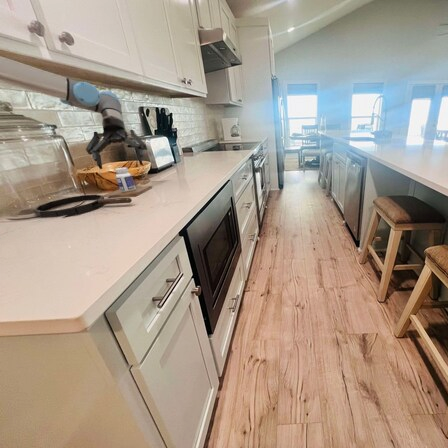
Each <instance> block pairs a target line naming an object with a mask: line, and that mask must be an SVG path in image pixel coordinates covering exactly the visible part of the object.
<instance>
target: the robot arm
mask: <svg viewBox="0 0 448 448" xmlns="http://www.w3.org/2000/svg"><path fill="white" fill-rule="evenodd" d="M0 83H1V84H5V85H8V86H12V87H16V88H20V89H23V90H27V91H30V92H33V93H38V94H41V95H44V96H45V95H46V96H48V97H52V98H56V99H59V102H61V103H62V104H64V105H68V106H70V107H74V108H79V109H82V110H87V111H89V112H90V111H91V112H94V113H96V114H97V113H98V114H100V119H101V123H102V130H103V131H102V132H98V131H93V136H92V137H91V139H90V141H89V142H88V144H87V146H86V147H85V151H86V152H87V154H88V155H92V159H93V160H94V161H95V162H96V165H97V167H98V168H99V170H103V162H102V157H101V156H102V155H101V154H100V153H102V151H104V149H106V147H107V146H109V145H110V146H111V144H117V143H119V144H120V143H125V144H127V145H129V146H131V147H132V148H133V149H135V151H136V155H137V160H138V163H139V165H140V166H142V165H144V164H143V161H142V160H143V159H142V158H144V156H145V155H144V151H147V150H148V147H147V145H146V143H145V142H144V141H143V140H142V139H141V138H140V137H139V136H138V135H137V134H136V133H135V130H134V129H130V130H129V131H126V127H125V122H124V121H125V120H124V116H123V111H122V105H121V102H120V99H119V97H118V96H117V95H116V94H115V93H113V92H112V91H107V90H106V91H104V90H103V91H99V90H98V88H97V87H96V86H94V85H93V84H92V83H89V82H88V81H78V80H75V79H72V78H69V77H66V76H63V75H59V74H56V73H54V72H50V71H46V70H44V69H41V68H38V67H35V66H32V65H29V64H26V63H23V62H19V61H16V60H13V59H11V58H8V57H4V56H1V55H0ZM128 136H129V137H130V138H132V139H133V140H132V139H130V138H129V137H128Z"/></svg>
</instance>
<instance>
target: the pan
mask: <svg viewBox="0 0 448 448" xmlns="http://www.w3.org/2000/svg"><path fill="white" fill-rule="evenodd" d="M86 201H92V202H88V203H85V204H81V205H78V206H77V205H76V206H73V207H67V208H61V209H56V210H55V209H54V210H53V209H52V208H56V207H60V206H63V205H64V206H65V205H68V204H73V203H78V202H86ZM132 201H133V200H132V197H114V198H105V197H104V195H101V194H82V195H76V196H69V197H64V198H61V199H55V200H52V201H48V202H45V203H42V204H40V205H37V206H36V207H35V208H34V209H33V212H34V214H35V216H36V217H39V218H58V217H61V218H62V219H64V218H70V217H74V216H75V217H76V216H79V215H80V216H81V215H83V214H86V213H89V212H93V211H96V210H98V209H100V208H102V207H104V206H105V205H116V204H131V203H132ZM50 209H52V210H50Z"/></svg>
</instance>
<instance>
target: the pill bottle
mask: <svg viewBox="0 0 448 448" xmlns="http://www.w3.org/2000/svg"><path fill="white" fill-rule="evenodd" d="M114 171H115V173H116V175H115V179H116V182H117V184H118V187H119V189H120V190H121V192H129V191H133V190H135V189H136V187H137V186H136V183H135V181H134V178H133V175H132V173H130V172H129V170H128V167H126V166H125V167H116V168H114Z"/></svg>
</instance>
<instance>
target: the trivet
mask: <svg viewBox="0 0 448 448" xmlns="http://www.w3.org/2000/svg"><path fill="white" fill-rule="evenodd" d="M135 187H136V189H135V190H133V191H129V192H121V190H120V188H118V189H116V190H114V191H111V192H109V193H106V194H104V195H103V197H104V198H105V197H106V199H112V198H132V197H137V196H139V195H141V194H143V193H145V192H147V191H149V190H151V189H152V188H153V187H152V185H145V186H144V185H143V186H141V185H140V186H135Z"/></svg>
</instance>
